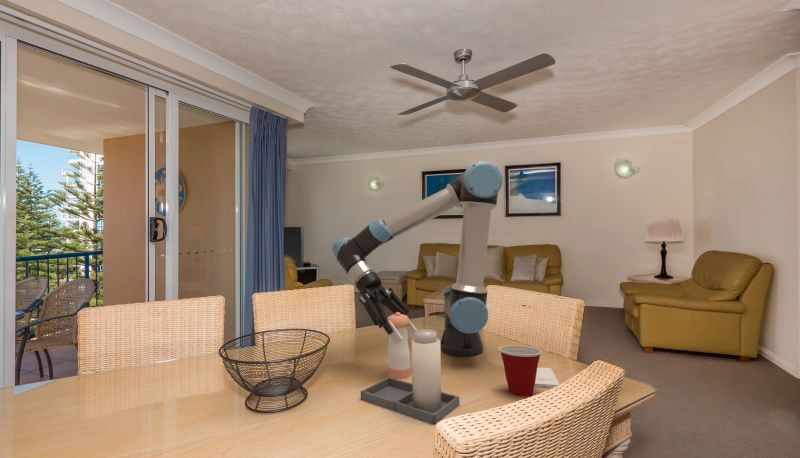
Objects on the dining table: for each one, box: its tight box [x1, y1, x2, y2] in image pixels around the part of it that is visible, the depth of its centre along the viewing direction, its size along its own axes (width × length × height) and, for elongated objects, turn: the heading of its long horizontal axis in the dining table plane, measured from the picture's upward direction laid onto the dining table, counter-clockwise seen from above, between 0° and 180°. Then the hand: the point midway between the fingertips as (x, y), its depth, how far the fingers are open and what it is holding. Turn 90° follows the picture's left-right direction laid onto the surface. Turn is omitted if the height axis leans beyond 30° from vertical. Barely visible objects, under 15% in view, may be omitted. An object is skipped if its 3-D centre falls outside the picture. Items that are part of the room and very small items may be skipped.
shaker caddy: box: [360, 377, 460, 426], centre depth 93 cm, size 11×22×3 cm, turn 53°
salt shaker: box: [411, 328, 442, 414], centre depth 90 cm, size 7×7×18 cm
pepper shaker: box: [386, 312, 412, 380], centre depth 112 cm, size 7×7×19 cm
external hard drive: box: [534, 367, 560, 389], centre depth 109 cm, size 2×8×12 cm
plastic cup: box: [498, 344, 543, 397], centre depth 99 cm, size 11×11×12 cm
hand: (407, 338), depth 109 cm, fingers closed on pepper shaker, 7 cm apart
